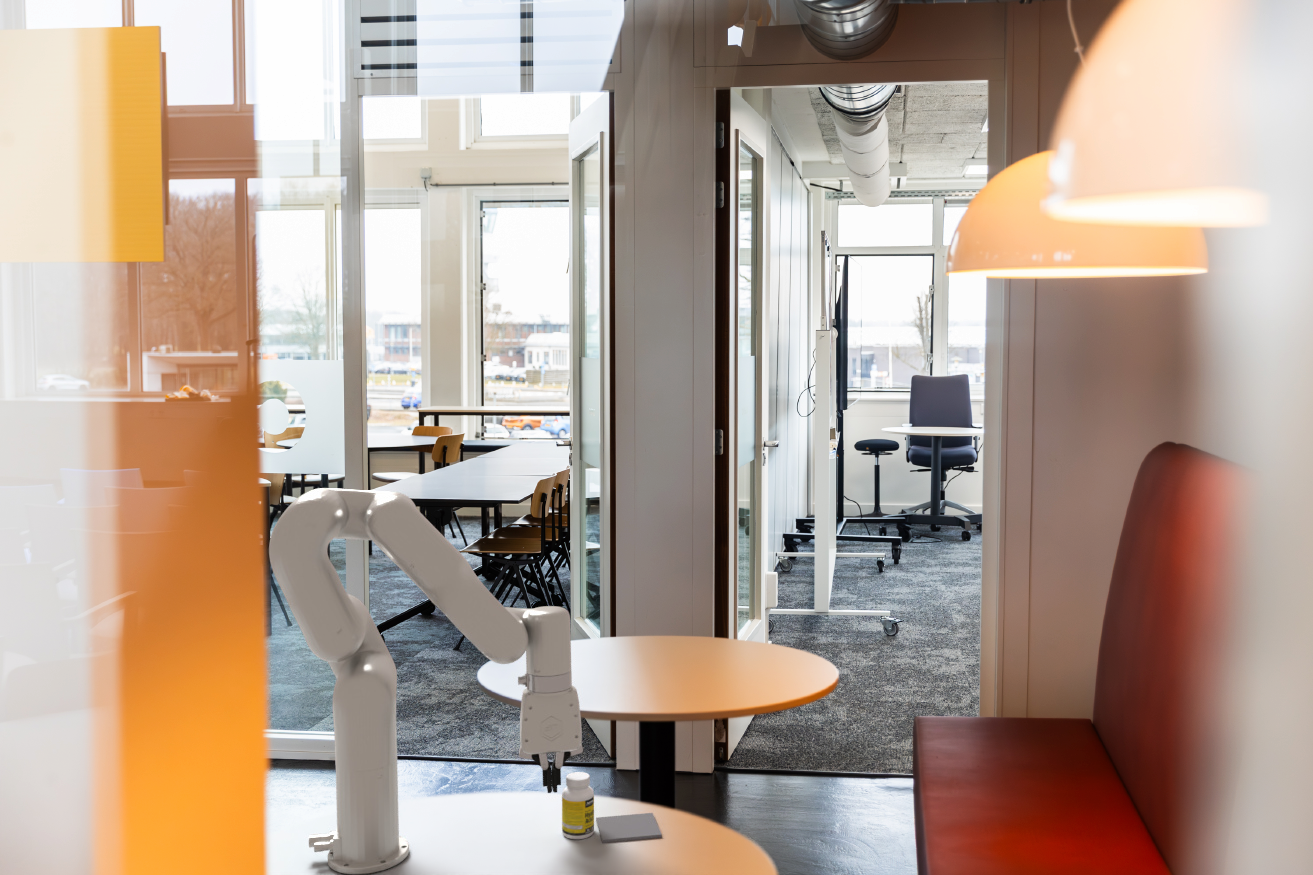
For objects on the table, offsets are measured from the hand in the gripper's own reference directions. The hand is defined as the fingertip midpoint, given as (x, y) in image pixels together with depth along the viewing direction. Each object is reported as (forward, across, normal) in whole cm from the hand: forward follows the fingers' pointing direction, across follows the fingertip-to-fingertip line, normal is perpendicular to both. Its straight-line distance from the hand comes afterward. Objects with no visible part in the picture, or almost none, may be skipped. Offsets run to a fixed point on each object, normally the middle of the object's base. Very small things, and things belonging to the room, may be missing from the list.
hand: (552, 789), depth 161 cm
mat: (+8, +13, 0) cm, 15 cm away
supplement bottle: (+8, +4, 0) cm, 9 cm away
